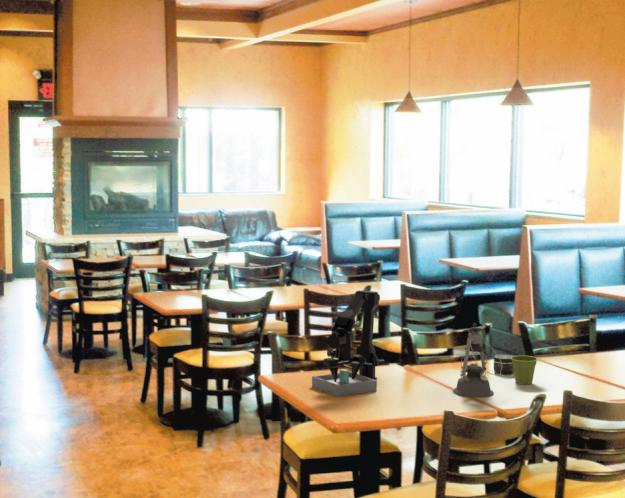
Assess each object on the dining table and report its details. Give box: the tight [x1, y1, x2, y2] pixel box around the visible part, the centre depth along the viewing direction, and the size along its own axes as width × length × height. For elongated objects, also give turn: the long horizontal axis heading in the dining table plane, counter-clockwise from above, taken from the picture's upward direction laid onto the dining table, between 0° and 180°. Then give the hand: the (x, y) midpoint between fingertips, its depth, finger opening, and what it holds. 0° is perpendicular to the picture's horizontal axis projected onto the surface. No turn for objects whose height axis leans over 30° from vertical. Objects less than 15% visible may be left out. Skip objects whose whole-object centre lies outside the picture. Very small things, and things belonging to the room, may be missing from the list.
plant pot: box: [511, 355, 539, 385], centre depth 434 cm, size 12×12×11 cm
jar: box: [493, 354, 514, 376], centre depth 454 cm, size 10×10×8 cm
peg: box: [339, 369, 350, 385], centre depth 419 cm, size 4×4×8 cm
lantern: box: [452, 322, 502, 398], centre depth 413 cm, size 18×20×30 cm
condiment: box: [343, 339, 362, 369], centre depth 465 cm, size 7×8×12 cm
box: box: [311, 371, 378, 397], centre depth 419 cm, size 20×20×4 cm
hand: (344, 380), depth 419 cm, fingers open, 9 cm apart
